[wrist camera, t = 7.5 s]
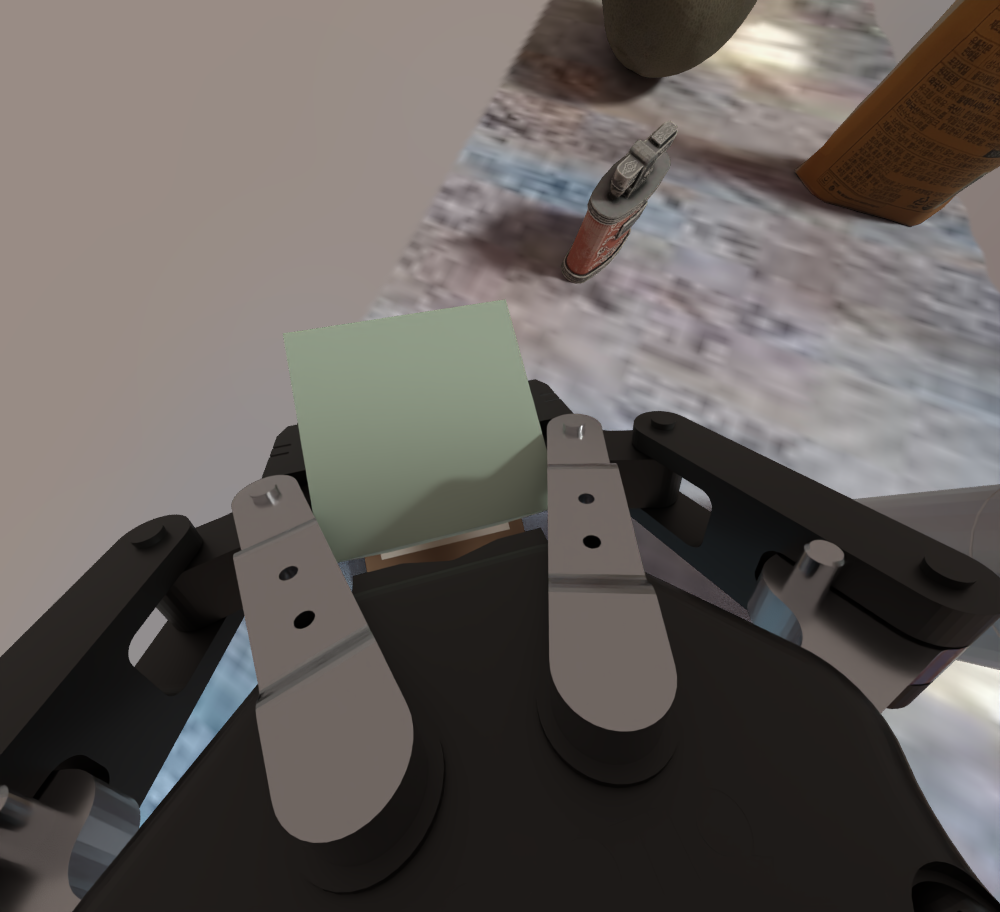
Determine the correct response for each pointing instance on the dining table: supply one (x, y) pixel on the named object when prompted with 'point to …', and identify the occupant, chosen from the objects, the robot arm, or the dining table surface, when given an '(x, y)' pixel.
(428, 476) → the green post
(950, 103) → the pancake mix bag
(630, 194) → the lighter
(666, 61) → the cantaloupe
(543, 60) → the dining table surface
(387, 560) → the build base
